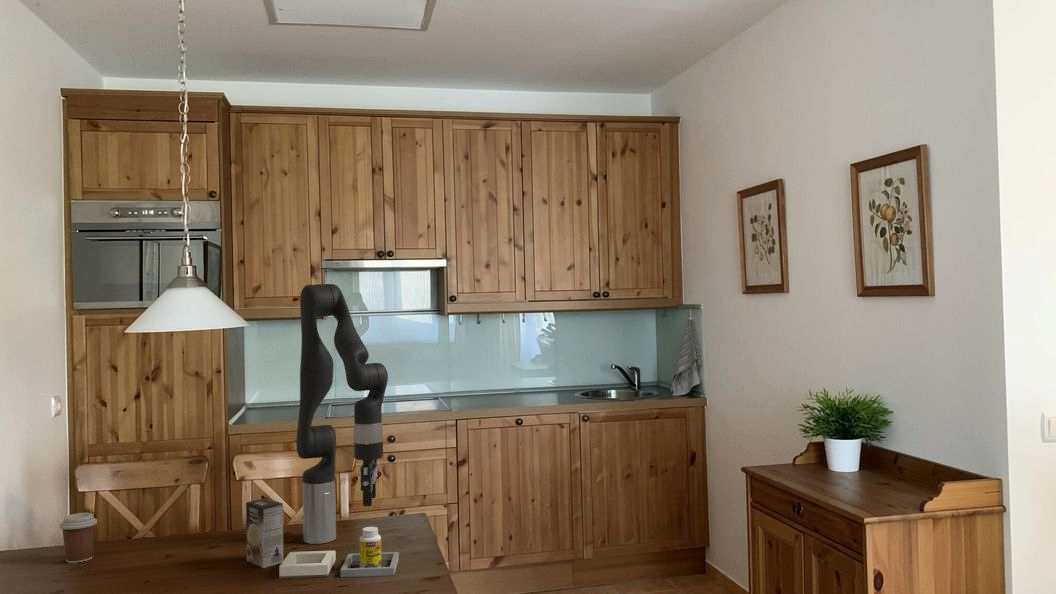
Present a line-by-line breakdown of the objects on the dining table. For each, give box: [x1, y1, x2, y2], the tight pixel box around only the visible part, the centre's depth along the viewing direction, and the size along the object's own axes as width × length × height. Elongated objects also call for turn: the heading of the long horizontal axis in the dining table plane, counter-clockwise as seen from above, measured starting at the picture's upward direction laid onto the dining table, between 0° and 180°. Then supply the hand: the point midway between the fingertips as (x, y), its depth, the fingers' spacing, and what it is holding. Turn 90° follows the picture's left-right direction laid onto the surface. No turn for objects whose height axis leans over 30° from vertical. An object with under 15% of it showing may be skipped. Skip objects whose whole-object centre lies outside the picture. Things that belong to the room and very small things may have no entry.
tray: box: [340, 551, 400, 578], centre depth 216 cm, size 13×13×2 cm
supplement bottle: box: [359, 526, 382, 568], centre depth 216 cm, size 6×6×10 cm
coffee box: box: [245, 497, 284, 569], centre depth 222 cm, size 9×6×16 cm
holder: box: [278, 550, 337, 580], centre depth 215 cm, size 12×12×3 cm
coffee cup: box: [59, 512, 98, 564], centre depth 226 cm, size 9×9×12 cm
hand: (369, 502), depth 216 cm, fingers open, 8 cm apart
